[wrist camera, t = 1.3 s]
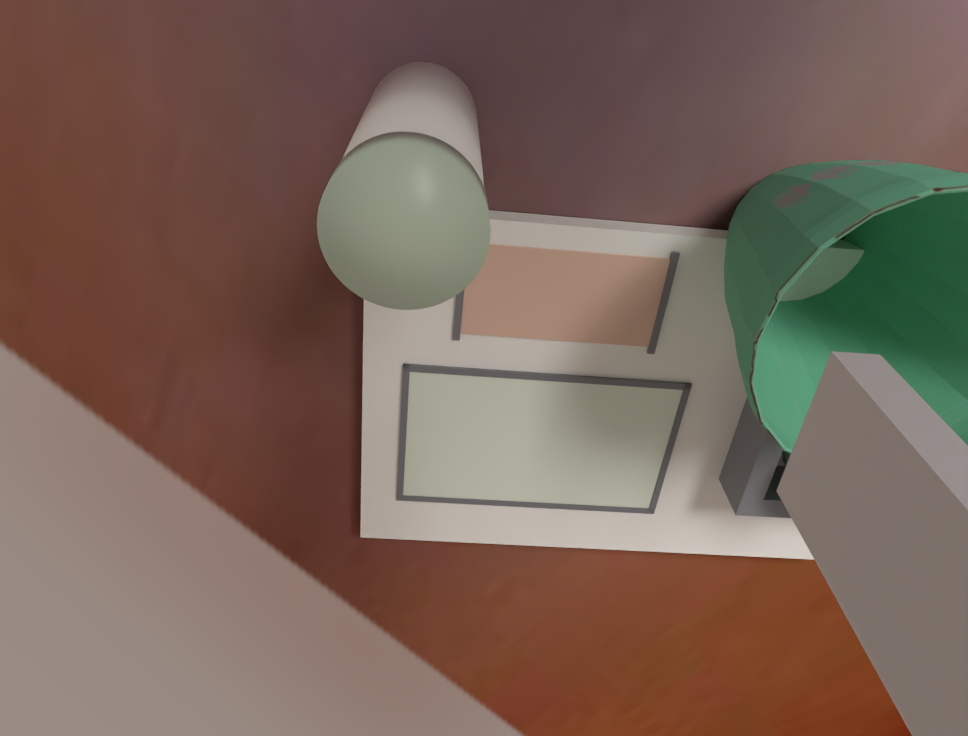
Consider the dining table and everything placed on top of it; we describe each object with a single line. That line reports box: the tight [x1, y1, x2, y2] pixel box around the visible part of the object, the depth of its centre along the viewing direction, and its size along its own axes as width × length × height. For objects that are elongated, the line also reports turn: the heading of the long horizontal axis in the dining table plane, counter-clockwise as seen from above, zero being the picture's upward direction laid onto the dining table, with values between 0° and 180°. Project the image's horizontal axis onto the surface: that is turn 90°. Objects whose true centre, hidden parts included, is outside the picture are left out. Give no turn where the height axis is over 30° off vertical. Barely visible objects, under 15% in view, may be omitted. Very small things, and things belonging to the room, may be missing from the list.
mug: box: [724, 160, 968, 454], centre depth 25 cm, size 15×10×10 cm
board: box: [360, 210, 865, 559], centre depth 32 cm, size 17×24×4 cm
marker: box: [317, 62, 491, 310], centre depth 22 cm, size 4×4×12 cm
